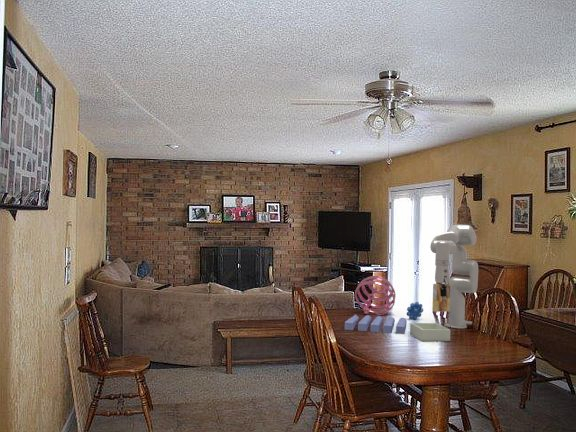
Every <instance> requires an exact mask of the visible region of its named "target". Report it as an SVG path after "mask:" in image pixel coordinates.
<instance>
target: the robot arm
mask: <svg viewBox="0 0 576 432" xmlns="http://www.w3.org/2000/svg"><path fill="white" fill-rule="evenodd" d="M477 239H478V238H477V234H476V232H475V230H474V228H473V226H472V225H470V224H452V225H450V226H449V227H448V229H447V231H446V232H444V233H441V234H438V235H436V236H434V237H433V239H432V241H431V242H430V246H429V247H430V251H431V252H432V253H433V254H435V259H434V260H435V261H434V262H435V263H434V265H435V271H434V272H435V274H434V281H435V284H441V293H440V296H446V289H447V285H448V284H450V306H449V311H448V323H446V324H445V327H446V328H450V327H451V329H467V328H468V325H473V321H469V320H467V319H465V317H466V299H465V296H464V295H463V294H462V293H468V294H475V293H476V292H477V291H478V284H479V264H478V262H477V261H476V260H473V259H467V253H468V252H467V250H466V248H465V247H464V246H470V247H472V246H475V245H476V243H477ZM450 255H452V257H451V258H452V260H451V272H452V273H453V274H455V275H461V276H452V277H451V276H450V275H451V274H450V268H449V267H450ZM466 276H469V277H466Z"/></svg>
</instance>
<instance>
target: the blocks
mask: <svg viewBox="0 0 576 432" xmlns="http://www.w3.org/2000/svg"><path fill="white" fill-rule="evenodd" d="M359 319H360V318H359V316H358V315H357V314H356V313H355V314H354V315H353V316H352V317H349V318H348V319H347V320H345V321H344V330H345V331H346V330H347V331H348V330H349V331H354V330H355V329H354V328H355V327H356V325H357V331H358V332H367V330H368V328H369V327H370V333H371V332H372V333H379V332H380V330H381V327H382V324H383V327H382V329H383V330H382V332H383V333H384V334H392V333H393V330H394V327H395V334H396V335H397V334H398V335H405V334H406V328H407V319H406V318H405V317H400V318H399V320H398V321H397V323H396V326H394V325H395V322H396V320H395V318H394V317H393V316H389V317H387V319H386V320H385V321H384V318H383V317H382V316H379V315H377V316H376V317H375V318H374V319H373V321H372V317H371V315H369V314H366V315H364V316H363V318H361V319H360V320H359ZM383 322H384V323H383Z"/></svg>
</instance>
